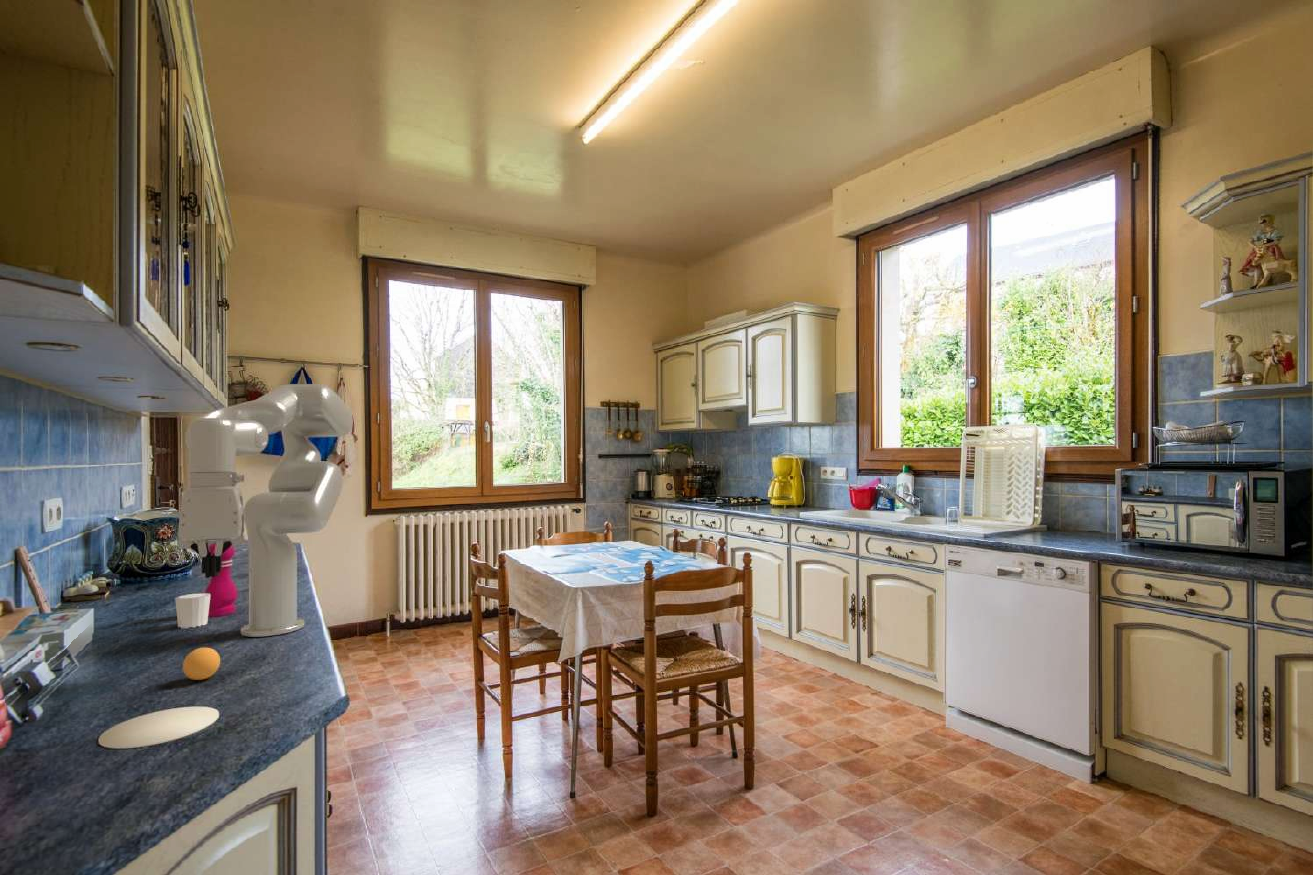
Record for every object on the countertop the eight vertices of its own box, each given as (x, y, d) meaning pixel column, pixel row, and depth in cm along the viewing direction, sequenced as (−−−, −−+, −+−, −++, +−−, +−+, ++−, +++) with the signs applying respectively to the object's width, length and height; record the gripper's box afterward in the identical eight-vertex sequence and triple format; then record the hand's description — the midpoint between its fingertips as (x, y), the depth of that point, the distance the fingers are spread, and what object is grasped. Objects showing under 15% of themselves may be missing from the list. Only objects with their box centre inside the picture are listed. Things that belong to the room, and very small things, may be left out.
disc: (117, 718, 97) (117, 717, 97) (226, 701, 103) (226, 700, 103) (82, 757, 84) (82, 755, 84) (209, 735, 90) (209, 733, 90)
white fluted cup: (191, 629, 148) (191, 599, 148) (167, 628, 149) (167, 598, 149) (217, 621, 155) (217, 592, 155) (194, 620, 156) (194, 592, 156)
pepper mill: (237, 608, 168) (237, 532, 168) (237, 614, 162) (237, 535, 162) (204, 612, 164) (204, 535, 164) (202, 618, 158) (202, 538, 158)
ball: (186, 676, 115) (186, 646, 115) (222, 671, 118) (222, 641, 118) (179, 686, 110) (179, 654, 110) (217, 681, 113) (217, 650, 113)
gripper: (259, 480, 130) (259, 570, 129) (169, 482, 124) (169, 577, 123) (254, 481, 123) (254, 576, 123) (159, 483, 117) (158, 583, 116)
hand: (211, 576), depth 123 cm, fingers closed
